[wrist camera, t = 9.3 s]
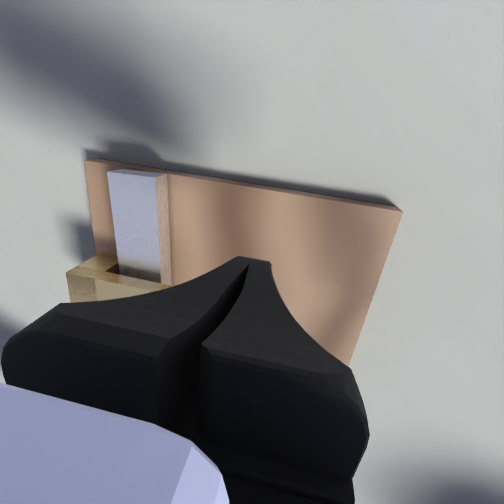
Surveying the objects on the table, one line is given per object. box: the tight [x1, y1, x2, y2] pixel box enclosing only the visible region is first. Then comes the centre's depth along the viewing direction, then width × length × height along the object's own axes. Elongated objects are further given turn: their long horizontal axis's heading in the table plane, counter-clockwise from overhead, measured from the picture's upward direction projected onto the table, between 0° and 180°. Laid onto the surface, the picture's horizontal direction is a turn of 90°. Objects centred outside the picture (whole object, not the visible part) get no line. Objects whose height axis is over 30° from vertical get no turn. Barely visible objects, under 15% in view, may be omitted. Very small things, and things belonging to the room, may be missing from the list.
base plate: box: [84, 159, 403, 366], centre depth 20 cm, size 20×20×4 cm
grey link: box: [107, 169, 172, 286], centre depth 21 cm, size 17×4×2 cm, turn 175°
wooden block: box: [66, 252, 173, 303], centre depth 20 cm, size 7×4×3 cm, turn 83°
